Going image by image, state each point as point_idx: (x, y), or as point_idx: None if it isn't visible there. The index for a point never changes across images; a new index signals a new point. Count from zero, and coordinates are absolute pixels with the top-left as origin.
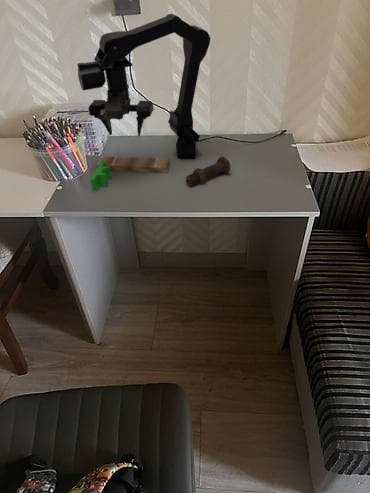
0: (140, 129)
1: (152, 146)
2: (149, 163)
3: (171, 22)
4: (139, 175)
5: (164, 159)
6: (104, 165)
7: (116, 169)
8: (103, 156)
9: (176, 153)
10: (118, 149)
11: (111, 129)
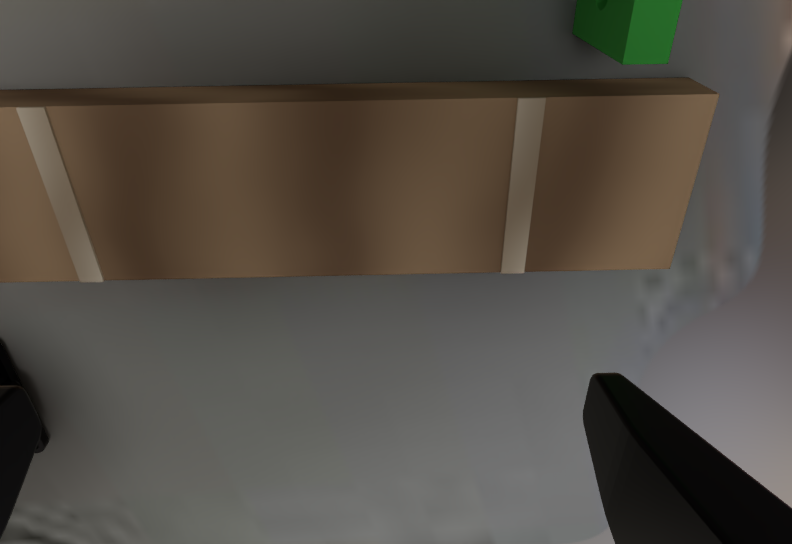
0: None
1: (280, 463)
2: (130, 181)
3: None
4: (204, 16)
5: (19, 265)
6: (616, 14)
7: (477, 86)
8: (647, 263)
9: (16, 385)
10: (532, 410)
11: (608, 492)
